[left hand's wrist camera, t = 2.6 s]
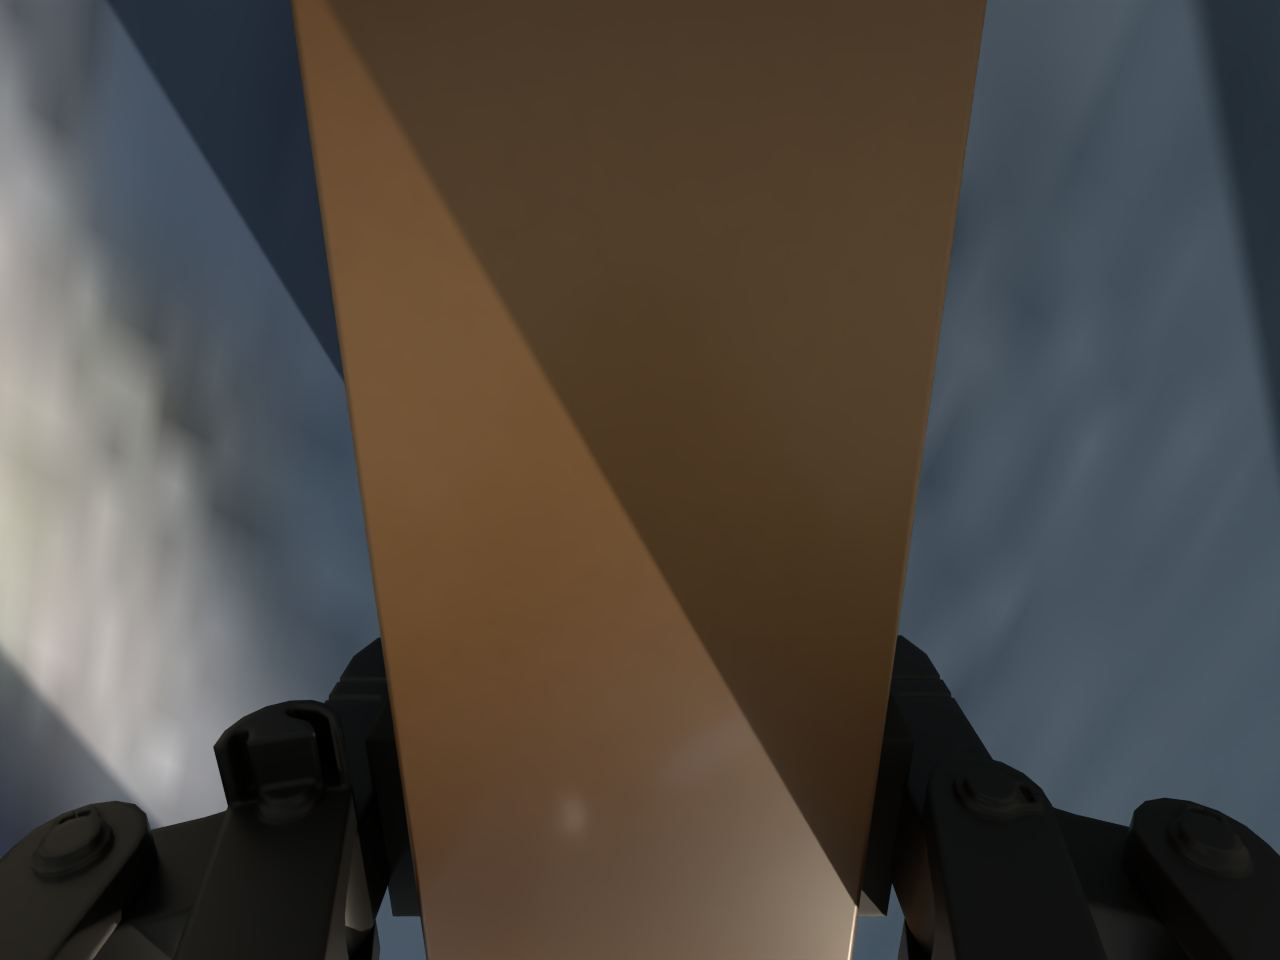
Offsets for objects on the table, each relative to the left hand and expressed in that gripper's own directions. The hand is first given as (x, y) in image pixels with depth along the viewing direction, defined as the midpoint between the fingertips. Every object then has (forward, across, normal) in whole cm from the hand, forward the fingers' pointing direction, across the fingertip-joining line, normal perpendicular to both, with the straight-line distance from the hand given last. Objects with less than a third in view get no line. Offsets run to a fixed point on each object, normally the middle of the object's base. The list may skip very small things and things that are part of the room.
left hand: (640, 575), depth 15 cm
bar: (+1, 0, -10) cm, 10 cm away
